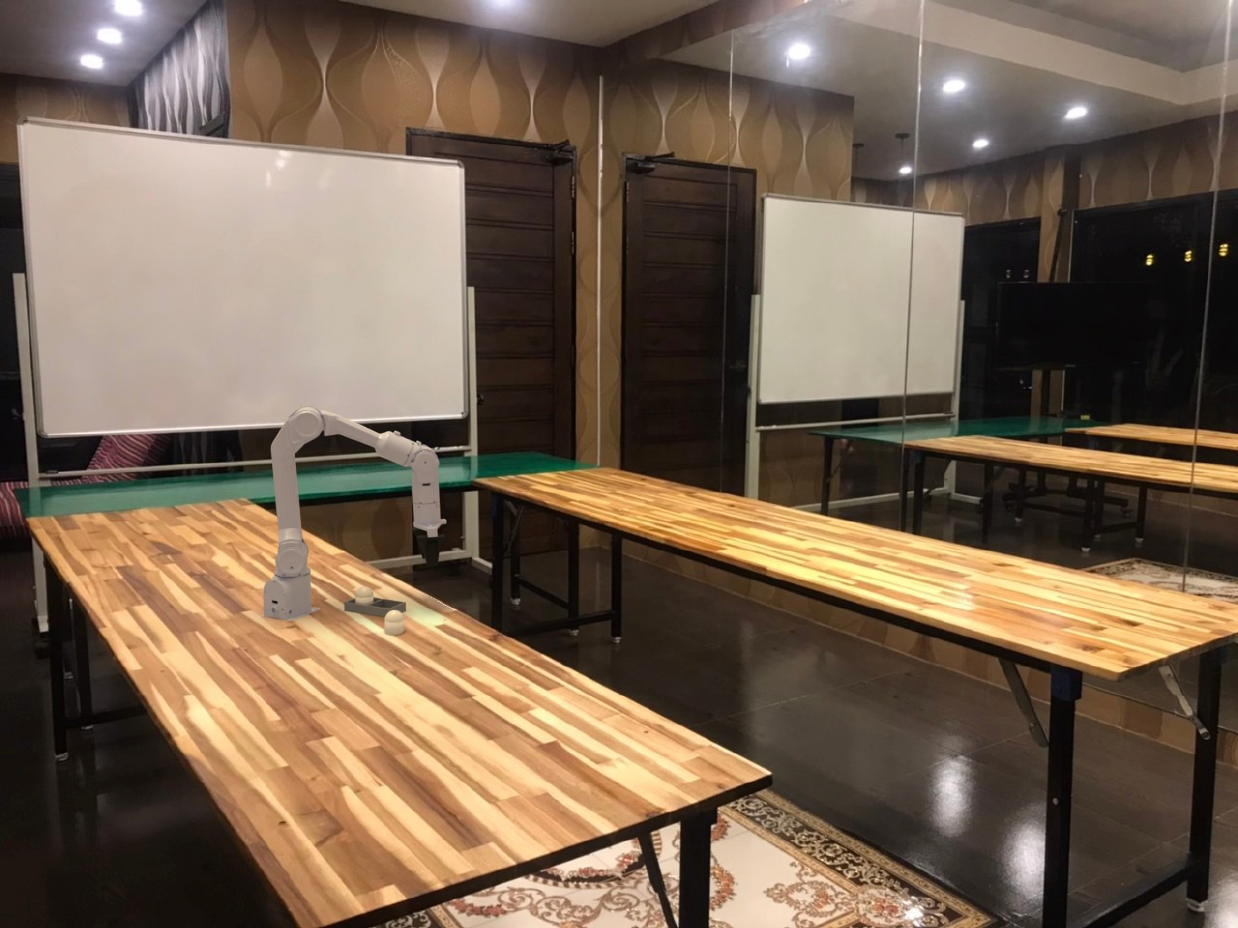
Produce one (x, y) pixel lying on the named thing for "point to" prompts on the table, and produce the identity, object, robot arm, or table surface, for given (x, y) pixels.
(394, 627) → the cream rounded cylinder
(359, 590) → the carton egg
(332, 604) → the table surface
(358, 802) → the table surface
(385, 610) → the egg carton
